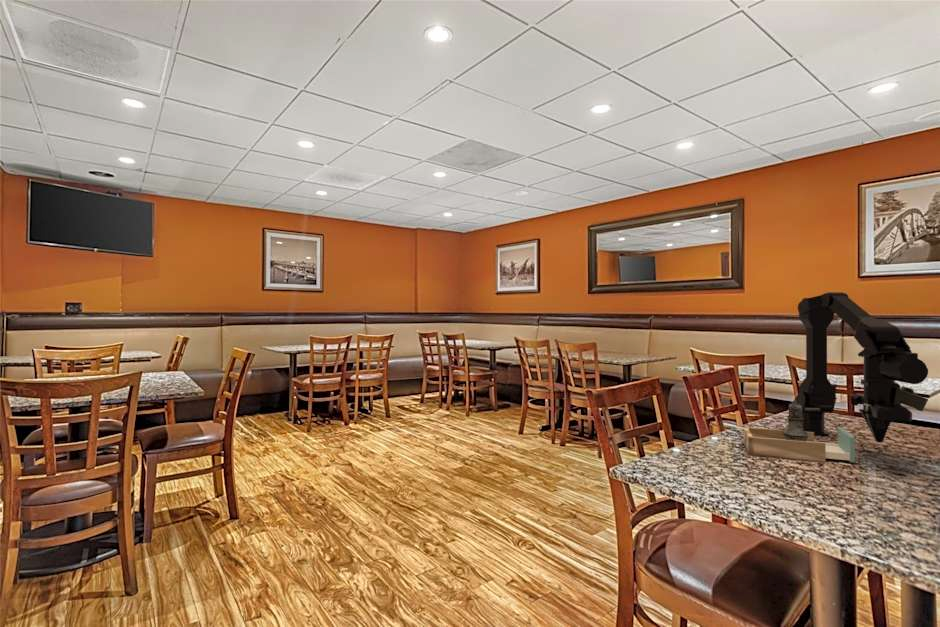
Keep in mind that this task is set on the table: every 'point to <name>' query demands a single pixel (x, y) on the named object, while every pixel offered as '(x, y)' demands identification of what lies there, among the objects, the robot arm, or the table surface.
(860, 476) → the table surface
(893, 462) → the table surface
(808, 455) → the dock
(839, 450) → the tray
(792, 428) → the grey tall tapered piece
